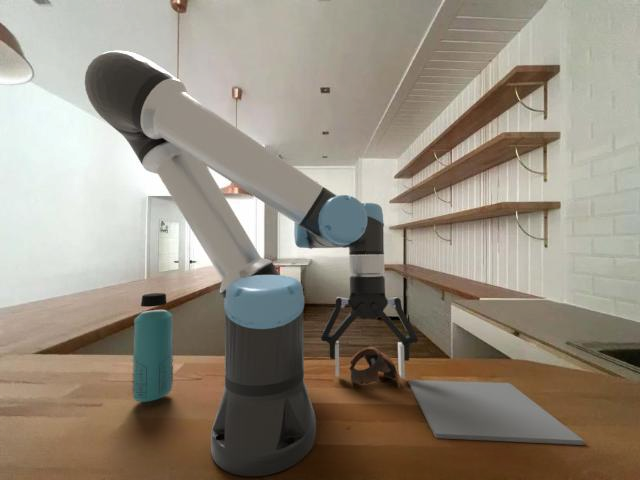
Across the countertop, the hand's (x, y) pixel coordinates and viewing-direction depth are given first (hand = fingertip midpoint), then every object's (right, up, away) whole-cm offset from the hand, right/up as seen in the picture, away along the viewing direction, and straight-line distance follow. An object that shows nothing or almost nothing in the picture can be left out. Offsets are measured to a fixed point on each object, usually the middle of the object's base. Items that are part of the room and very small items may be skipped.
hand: (369, 374), depth 58 cm
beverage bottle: (-42, -2, -7) cm, 42 cm away
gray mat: (+17, 0, -11) cm, 20 cm away
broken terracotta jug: (+1, -2, -1) cm, 2 cm away
